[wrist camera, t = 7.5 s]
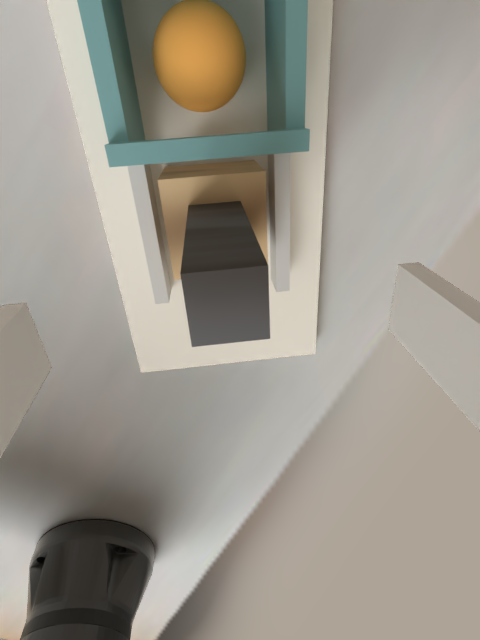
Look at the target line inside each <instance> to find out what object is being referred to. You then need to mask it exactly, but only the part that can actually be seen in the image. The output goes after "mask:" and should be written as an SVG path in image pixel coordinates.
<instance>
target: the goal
mask: <svg viewBox="0 0 480 640" xmlns="http://www.w3.org/2000/svg"><path fill="white" fill-rule="evenodd" d="M77 2H78V7H79V11H80V16H81V20H82V25H83V29H84V34H85V38H86V43H87V47H88V52H89V56H90V61H91V65H92V70H93V74H94V79H95V83H96V88H97V92H98V97H99V101H100V106H101V110H102V115H103V120H104V124H105V129H106V133H107V138H108V142H109V143H108V144H106V145H104V146H105V150H106V155H107V159H108V163H109V167H121V166H133V165H145V164H158V163H170V162H182V161H195V160H207V159H219V158H232V157H244V156H256V155H269V154H281V153H293V152H306V151H309V142H310V129H307V128H305V101H306V59H307V16H308V0H264V3H265V47H266V91H267V131H260V132H247V133H234V134H221V135H208V136H196V137H183V138H170V139H157V140H145V135H144V129H143V123H142V118H141V112H140V106H139V100H138V95H137V89H136V83H135V78H134V72H133V66H132V61H131V55H130V49H129V43H128V38H127V32H126V26H125V21H124V15H123V9H122V4H121V0H77Z"/></svg>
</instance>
